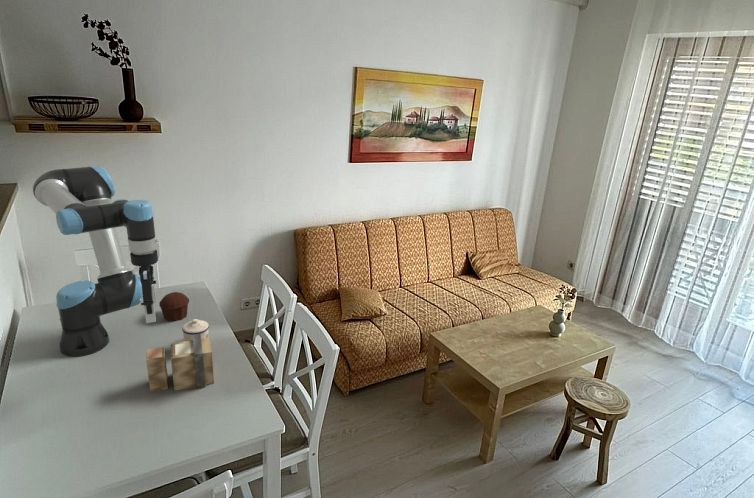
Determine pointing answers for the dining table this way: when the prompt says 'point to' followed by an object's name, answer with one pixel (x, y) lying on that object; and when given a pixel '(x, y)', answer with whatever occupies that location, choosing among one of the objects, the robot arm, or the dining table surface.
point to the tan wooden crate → (192, 363)
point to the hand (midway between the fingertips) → (151, 312)
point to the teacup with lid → (195, 329)
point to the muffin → (174, 306)
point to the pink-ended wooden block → (157, 369)
